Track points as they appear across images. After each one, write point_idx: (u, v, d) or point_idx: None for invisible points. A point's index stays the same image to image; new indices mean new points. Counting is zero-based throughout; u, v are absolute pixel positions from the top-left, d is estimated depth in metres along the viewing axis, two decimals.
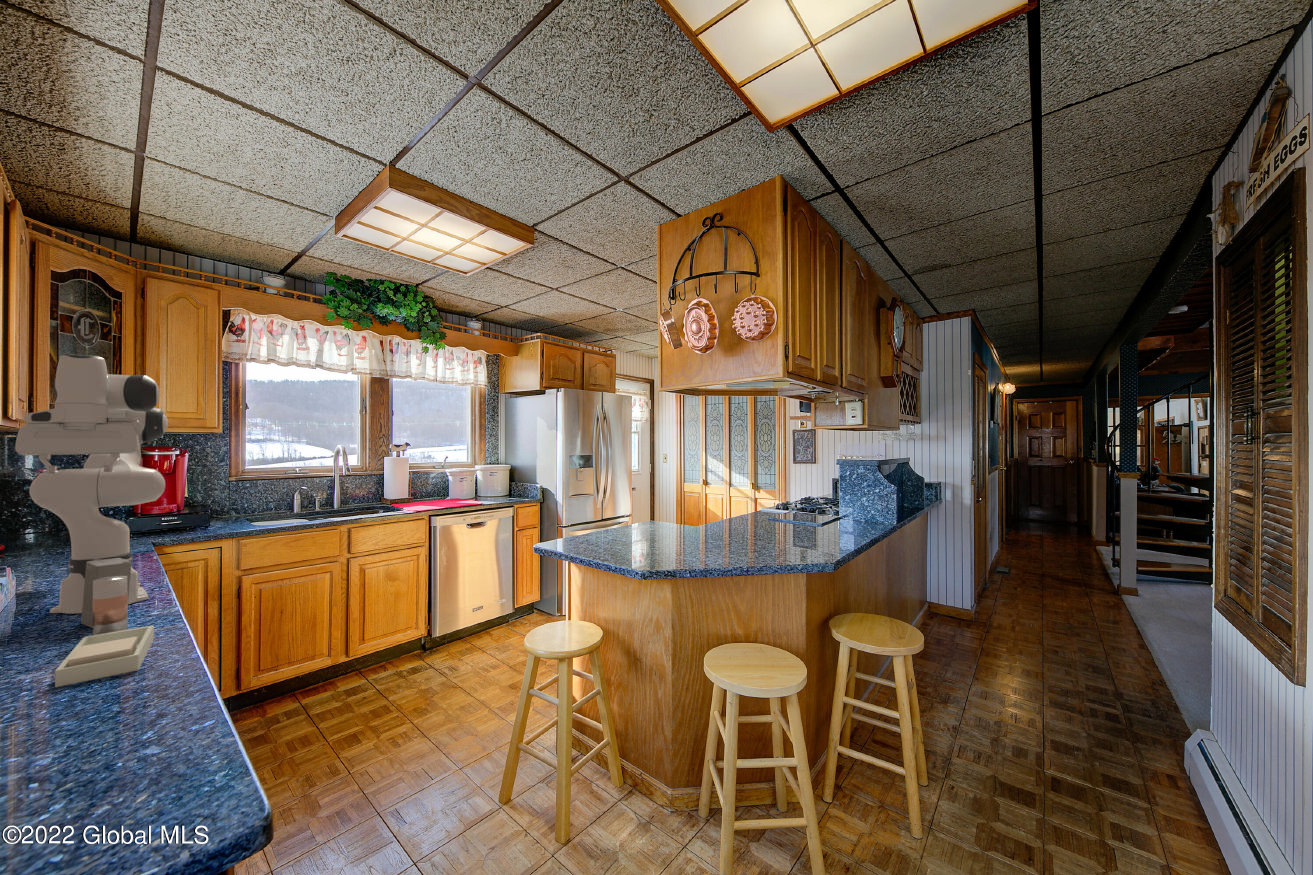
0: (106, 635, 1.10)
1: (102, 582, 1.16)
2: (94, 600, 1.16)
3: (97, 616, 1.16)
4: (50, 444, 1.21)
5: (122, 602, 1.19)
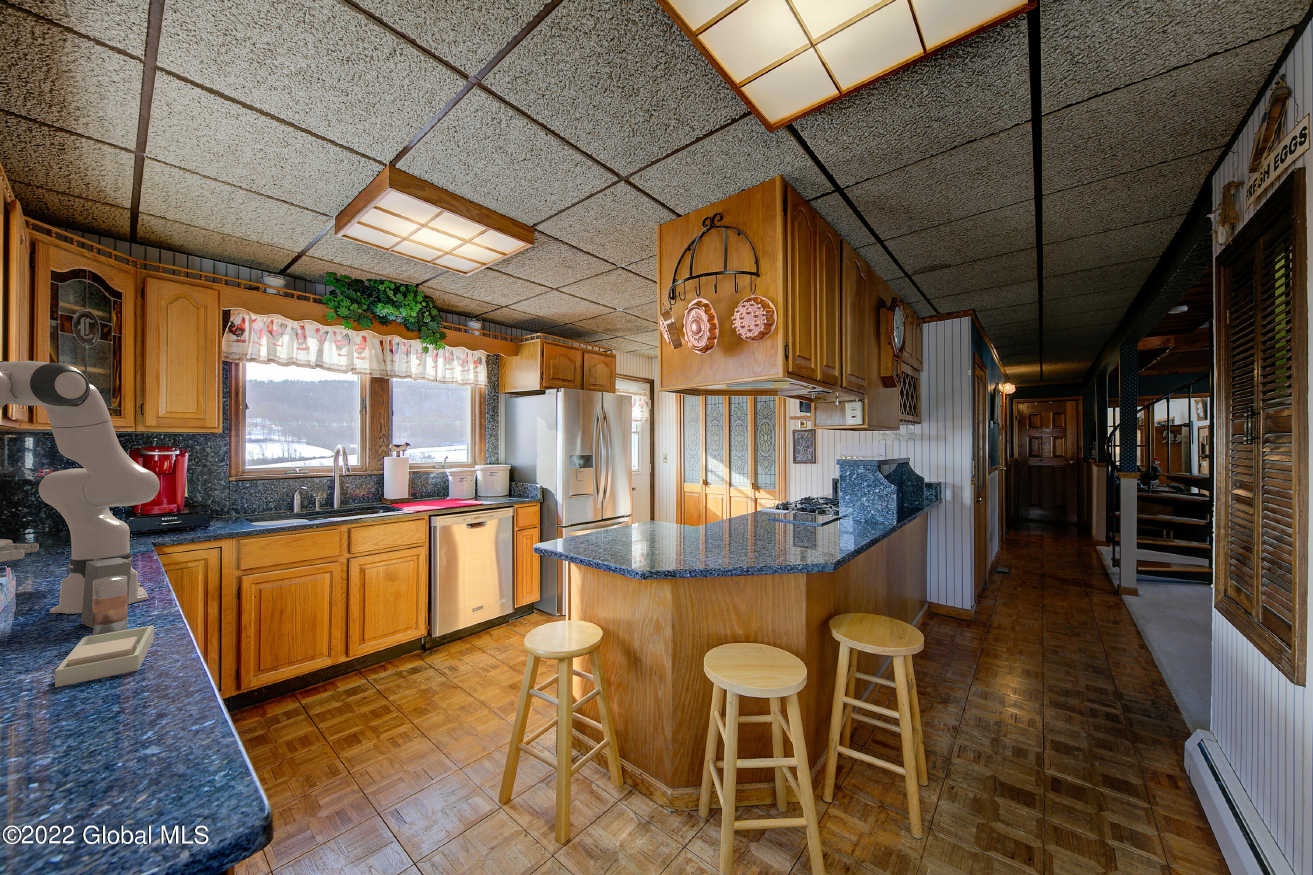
0: (106, 635, 1.10)
1: (102, 582, 1.16)
2: (94, 600, 1.16)
3: (97, 617, 1.16)
4: None
5: (122, 602, 1.19)
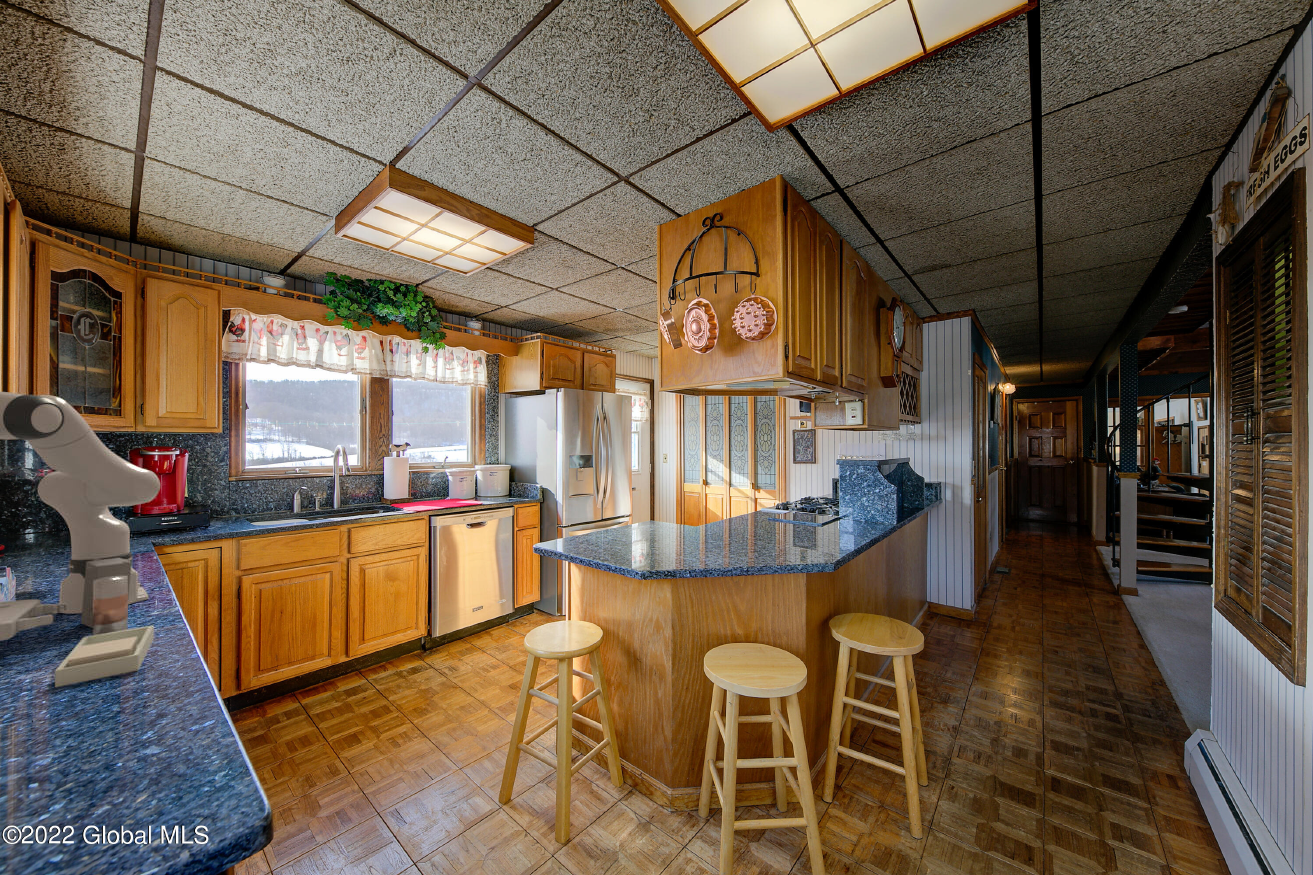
0: (106, 635, 1.10)
1: (102, 582, 1.16)
2: (94, 600, 1.16)
3: (97, 616, 1.16)
4: None
5: (122, 602, 1.19)
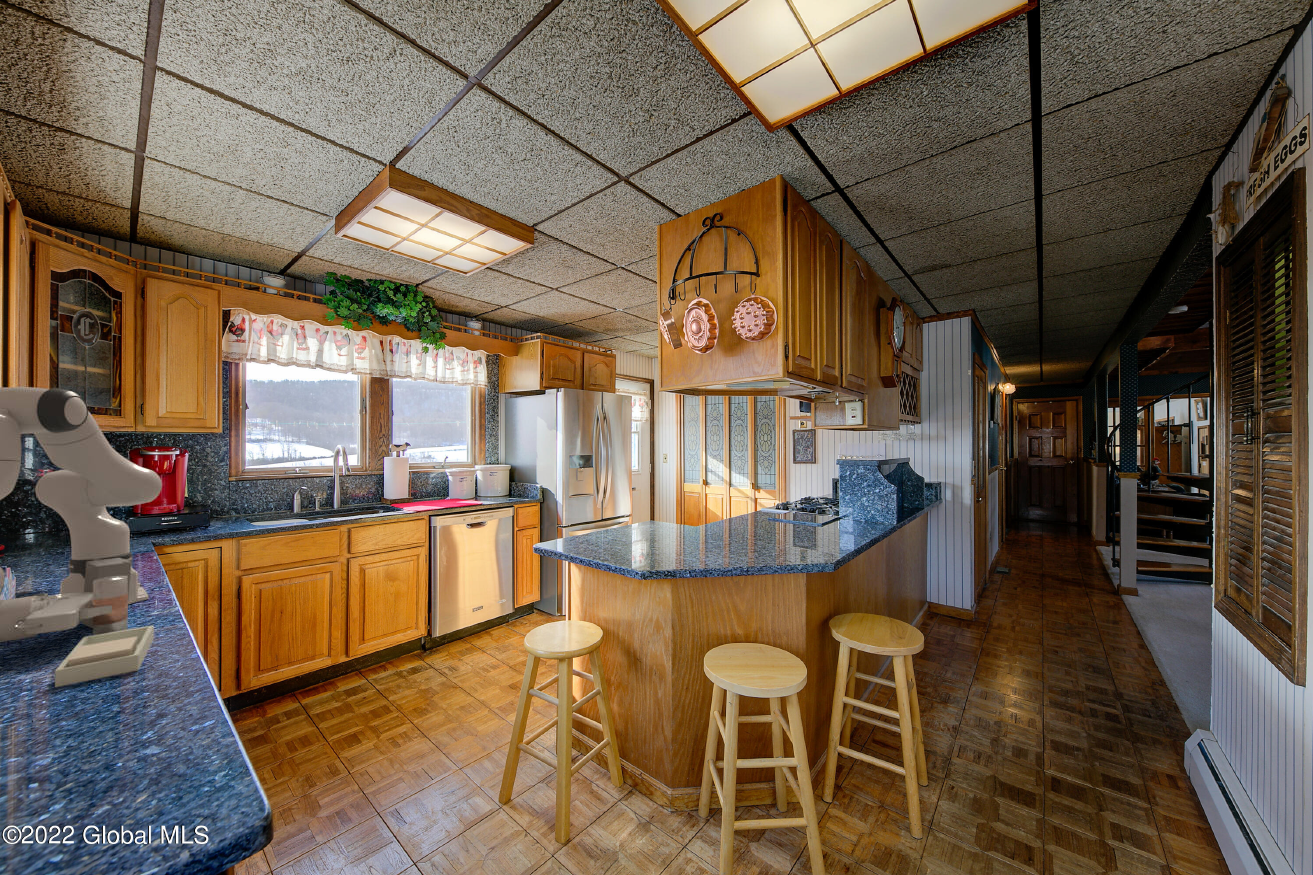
0: (106, 635, 1.10)
1: (102, 582, 1.16)
2: (94, 600, 1.16)
3: (97, 616, 1.16)
4: None
5: (122, 602, 1.19)
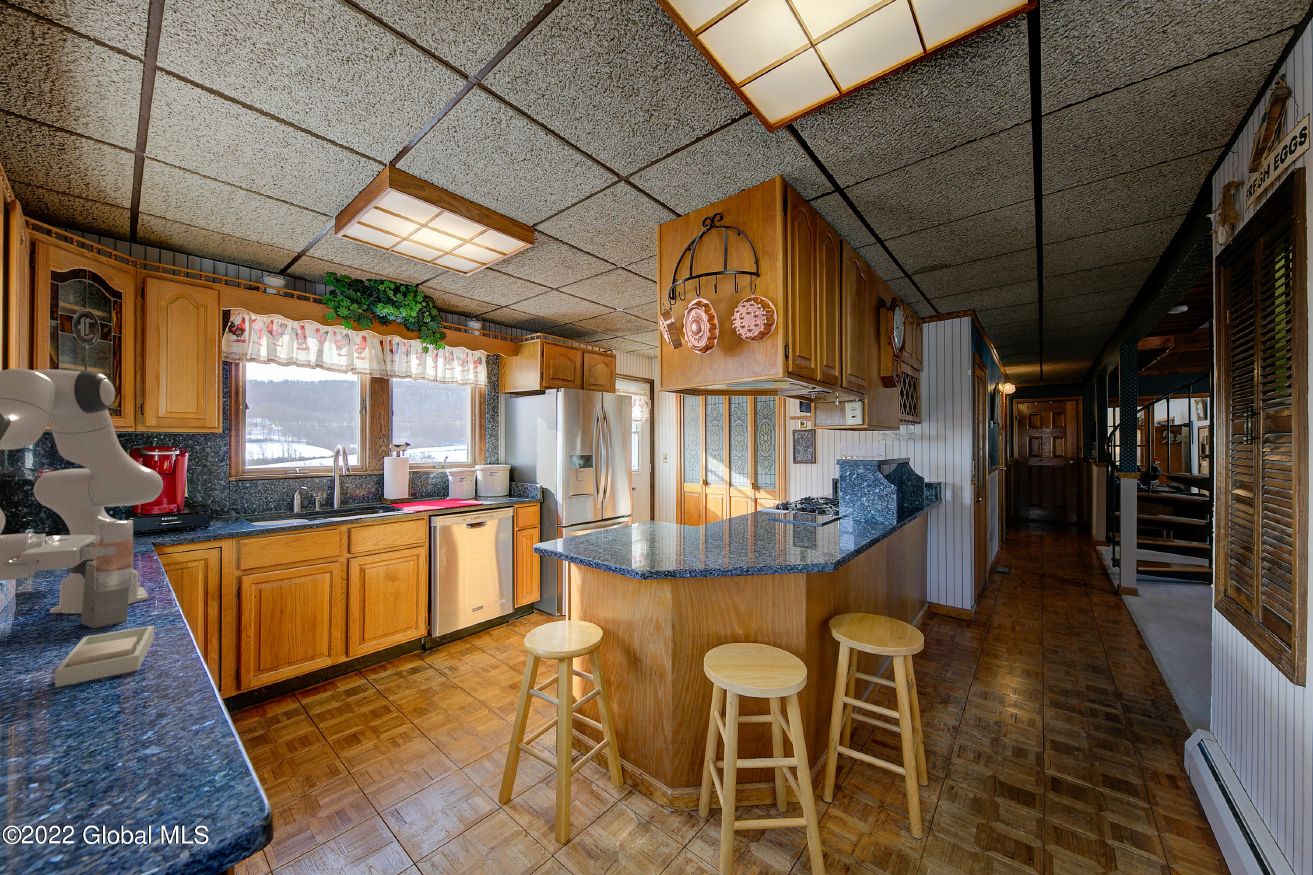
0: (106, 635, 1.10)
1: (105, 524, 1.05)
2: (96, 544, 1.05)
3: (100, 562, 1.05)
4: None
5: (127, 548, 1.08)
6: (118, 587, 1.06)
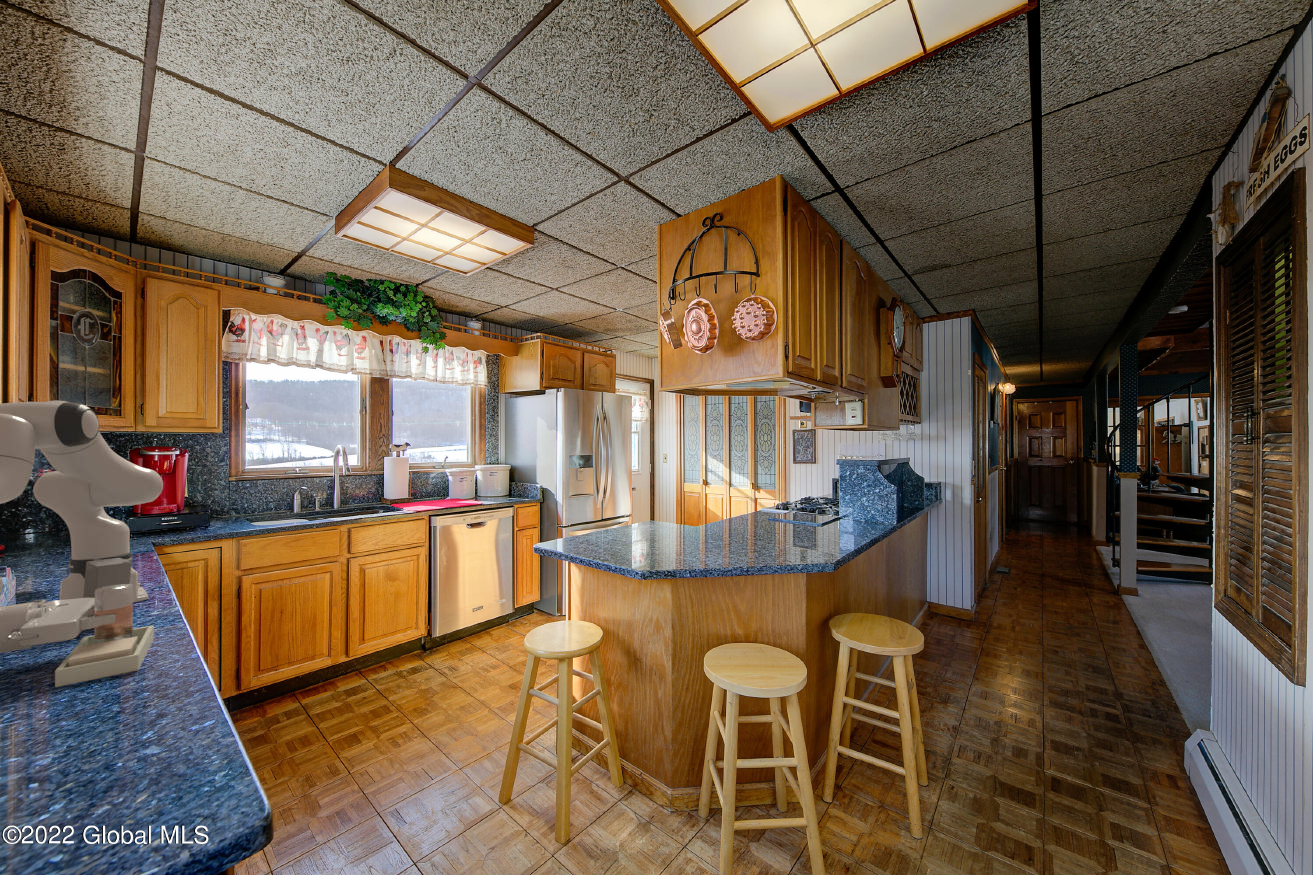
0: None
1: (105, 591, 1.05)
2: (96, 611, 1.05)
3: (99, 630, 1.05)
4: None
5: (127, 613, 1.08)
6: None
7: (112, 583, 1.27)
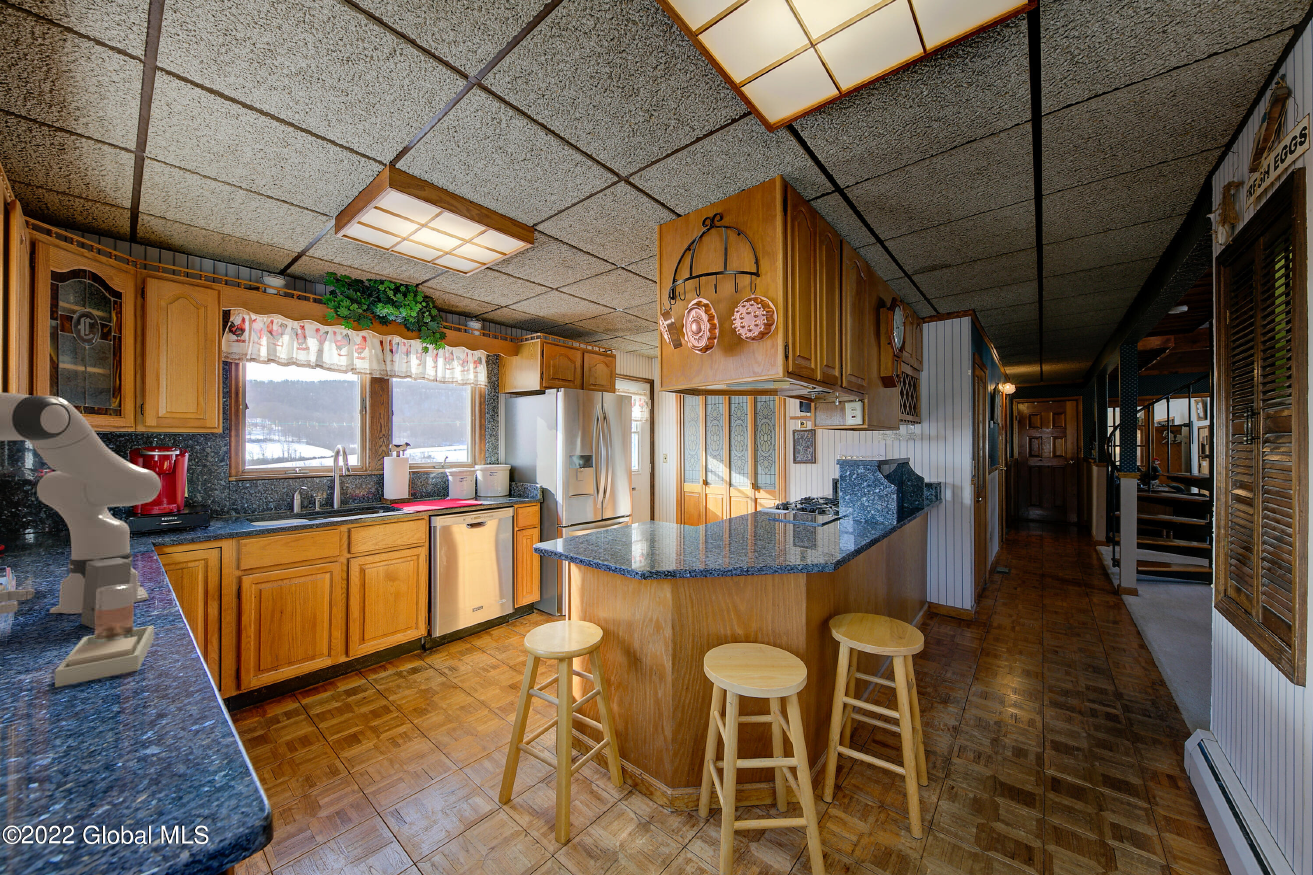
0: None
1: (106, 591, 1.05)
2: (97, 611, 1.05)
3: (100, 629, 1.05)
4: None
5: (127, 613, 1.08)
6: None
7: (112, 583, 1.27)
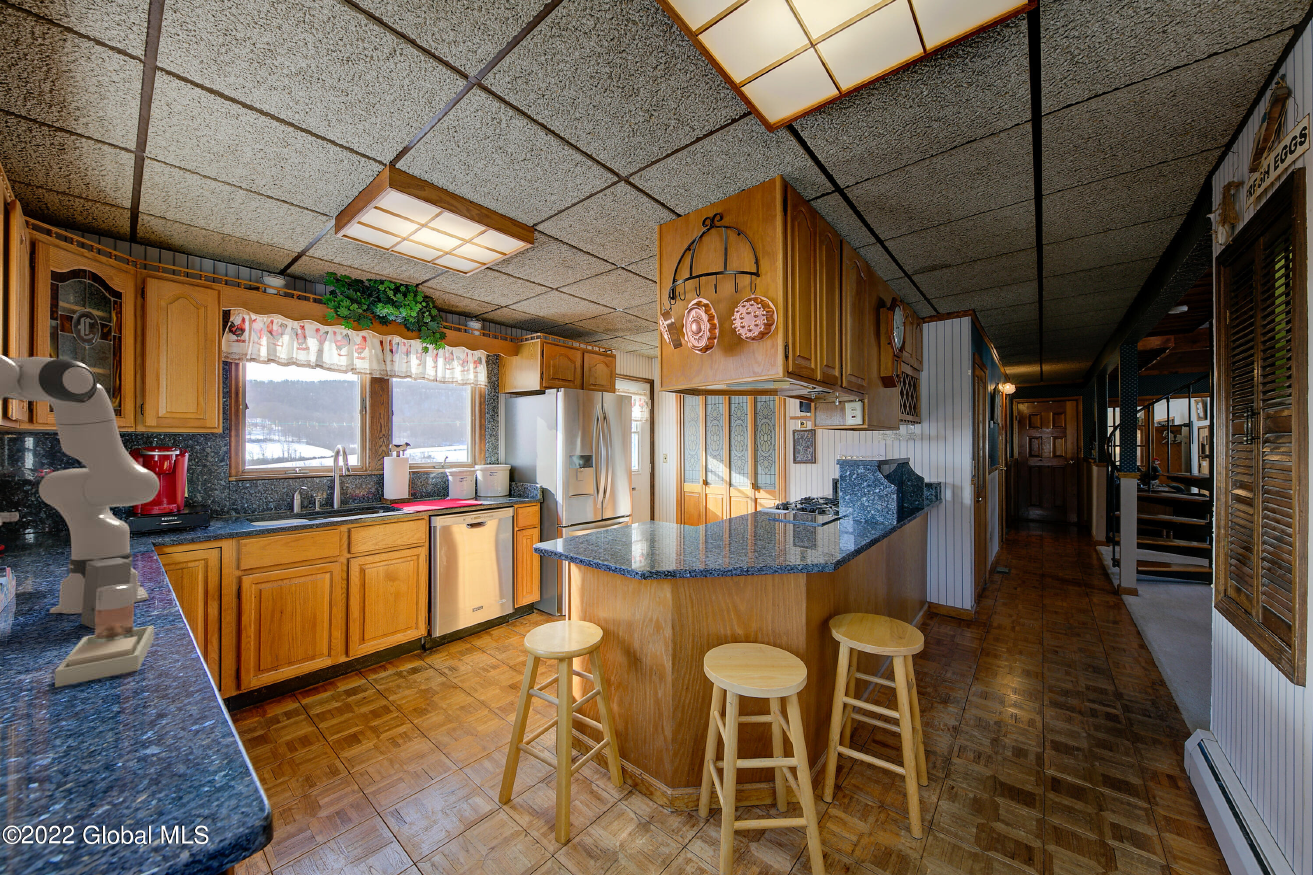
0: None
1: (106, 591, 1.05)
2: (97, 611, 1.05)
3: (100, 629, 1.05)
4: None
5: (127, 613, 1.08)
6: None
7: (112, 583, 1.27)
